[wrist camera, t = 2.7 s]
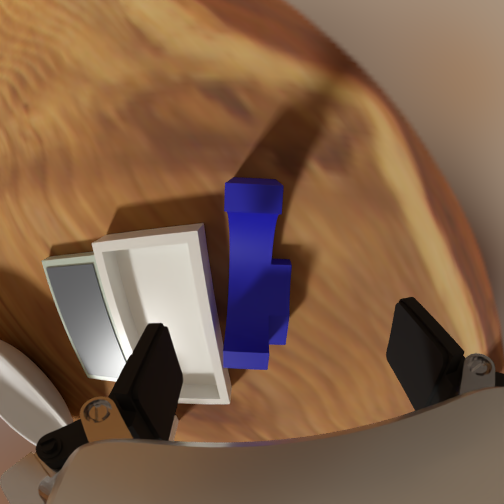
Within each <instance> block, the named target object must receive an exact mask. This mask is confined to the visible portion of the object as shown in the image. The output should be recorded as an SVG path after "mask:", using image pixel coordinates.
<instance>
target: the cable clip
mask: <svg viewBox="0 0 504 504" xmlns="http://www.w3.org/2000/svg"><path fill="white" fill-rule="evenodd" d="M282 201H283V185H282V184H281V183H279V182H278V181H277V180H276V179H260V178H238V177H233V178H232V179H230V180H229V181H227V182H226V183H225V204H224V211H226V212H227V213H228V218H229V232H230V265H229V291H228V307H227V320H226V331H225V340H224V348H223V368H237V369H259V370H267V369H268V360H269V344H275V345H285V344H286V337H287V330H288V322H289V300H290V280H291V268H292V265H291V262H290V259H272V249H273V240H274V232H275V226H276V221H277V217H278V215H279V214H282Z"/></svg>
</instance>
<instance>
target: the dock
mask: <svg viewBox="0 0 504 504" xmlns="http://www.w3.org/2000/svg"><path fill="white" fill-rule="evenodd" d="M92 247H93V251H94V256H95V260H96V264H97V267H98V271H99V275H100V279H101V282H102V286H103V289H104V292H105V296H106V299H107V302H108V305H109V308H110V311H111V314H112V317H113V320H114V323H115V326H116V329H117V332H118V334H119V337H120V340H121V342H122V345H123V348H124V350H125V353H126V355H127V358H129V356H130V355H131V354H132V352H133V350H134V349H135V347H136V345H137V343H138V341H139V339H140V337H141V335H142V334H143V332H144V330H145V328H146V326H147V325H148V323H163V325H164V326H167V327H168V329H169V332H170V336H171V339H172V342H173V346H174V349H175V352H176V355H177V358H178V362H179V365H180V368H181V371H182V374H183V384H182V388H181V392H180V396H179V400H178V403H185V404H230V399H231V388H232V386H231V381H230V377H229V372H228V368H223V348H224V346H223V340H222V335H221V330H220V324H219V318H218V313H217V307H216V301H215V295H214V289H213V283H212V276H211V270H210V263H209V257H208V250H207V243H206V236H205V229H204V223H199V224H190V225H181V226H172V227H164V228H155V229H147V230H139V231H131V232H124V233H116V234H109V235H105V236H103V237H101V238H100V239H98V240H96V241H94V242H93V243H92Z"/></svg>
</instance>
